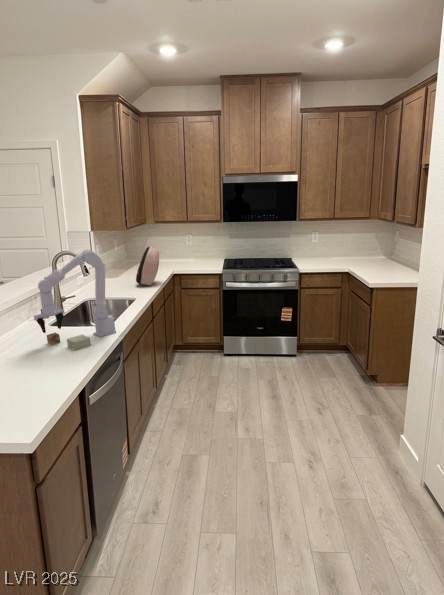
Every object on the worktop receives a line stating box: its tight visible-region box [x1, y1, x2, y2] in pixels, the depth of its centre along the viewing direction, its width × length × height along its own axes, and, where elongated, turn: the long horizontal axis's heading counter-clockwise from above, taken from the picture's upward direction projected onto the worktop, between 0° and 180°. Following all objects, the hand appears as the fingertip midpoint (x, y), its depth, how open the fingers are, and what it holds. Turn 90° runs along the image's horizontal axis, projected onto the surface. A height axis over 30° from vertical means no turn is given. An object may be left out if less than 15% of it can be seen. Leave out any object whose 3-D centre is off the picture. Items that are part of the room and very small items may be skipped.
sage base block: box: [66, 334, 92, 351], centre depth 199 cm, size 8×8×4 cm
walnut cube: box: [46, 332, 61, 346], centre depth 205 cm, size 4×4×4 cm
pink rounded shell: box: [135, 246, 160, 286], centre depth 324 cm, size 22×20×30 cm
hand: (51, 330), depth 204 cm, fingers open, 7 cm apart
